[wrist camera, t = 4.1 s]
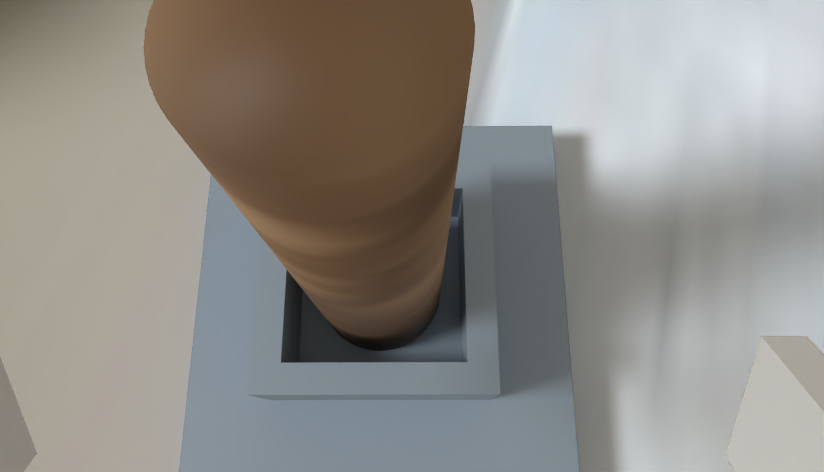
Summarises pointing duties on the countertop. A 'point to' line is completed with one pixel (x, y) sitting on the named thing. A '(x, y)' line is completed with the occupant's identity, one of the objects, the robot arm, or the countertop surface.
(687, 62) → the countertop surface
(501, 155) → the socket stand
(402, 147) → the strut
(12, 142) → the countertop surface
